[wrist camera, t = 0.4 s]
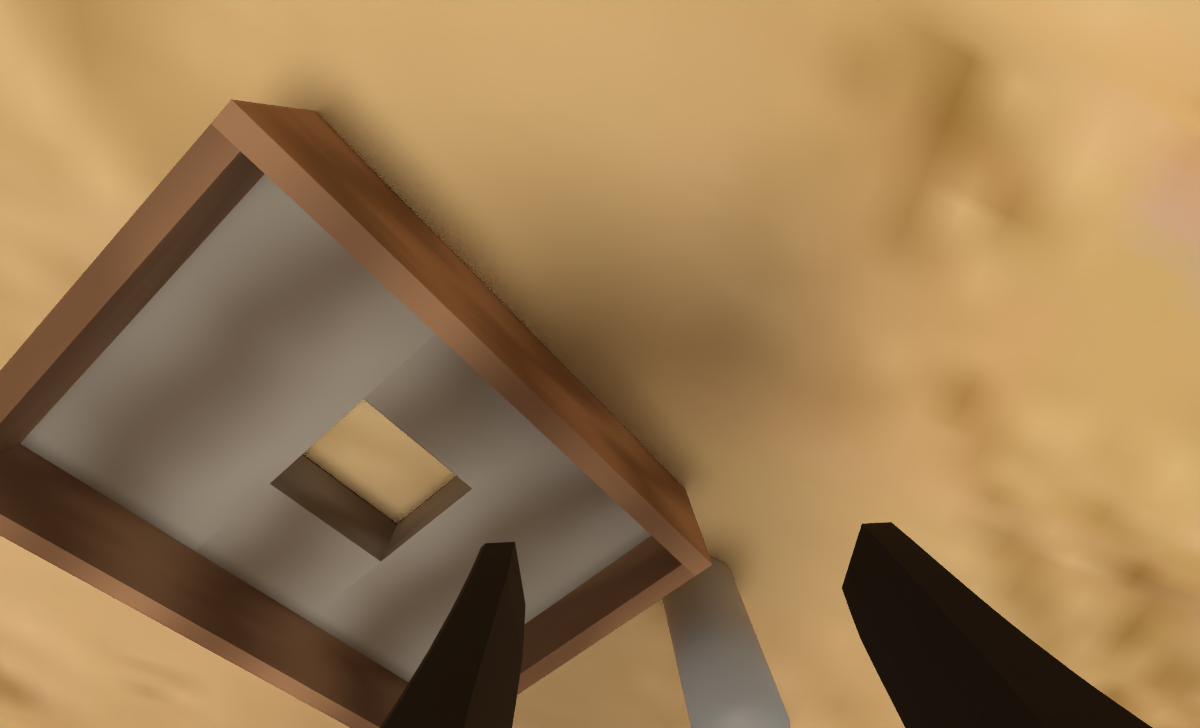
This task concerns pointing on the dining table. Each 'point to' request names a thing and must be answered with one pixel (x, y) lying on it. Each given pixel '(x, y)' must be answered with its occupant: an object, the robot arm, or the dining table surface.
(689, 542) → the box
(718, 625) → the peg
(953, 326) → the dining table surface
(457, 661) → the robot arm
